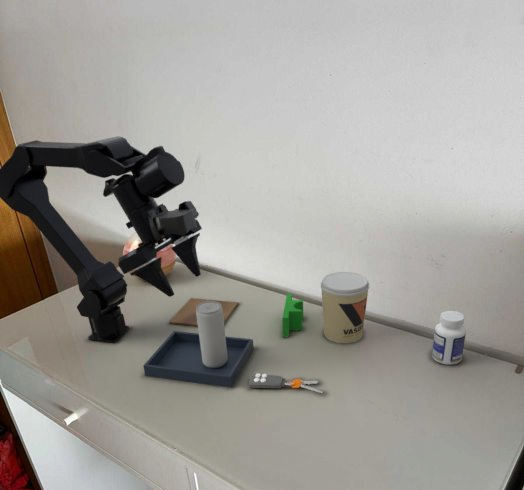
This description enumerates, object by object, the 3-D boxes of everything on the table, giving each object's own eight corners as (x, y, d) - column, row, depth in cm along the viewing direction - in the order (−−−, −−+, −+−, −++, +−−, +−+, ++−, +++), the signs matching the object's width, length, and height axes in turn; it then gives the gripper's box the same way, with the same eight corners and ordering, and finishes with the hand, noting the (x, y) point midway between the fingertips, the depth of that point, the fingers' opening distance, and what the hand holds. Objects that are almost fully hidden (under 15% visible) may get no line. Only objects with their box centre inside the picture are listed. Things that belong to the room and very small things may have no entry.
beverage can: (197, 363, 95) (189, 307, 89) (217, 353, 98) (210, 298, 92) (213, 372, 92) (206, 315, 86) (233, 361, 95) (227, 305, 89)
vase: (165, 263, 142) (155, 201, 133) (187, 278, 132) (178, 212, 123) (119, 276, 135) (106, 212, 126) (139, 292, 125) (125, 224, 116)
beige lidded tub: (344, 351, 97) (346, 295, 91) (310, 333, 103) (310, 280, 97) (375, 334, 102) (379, 280, 96) (341, 318, 108) (343, 267, 102)
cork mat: (169, 323, 110) (169, 321, 110) (191, 300, 120) (191, 298, 120) (220, 328, 107) (219, 326, 107) (238, 304, 117) (238, 302, 116)
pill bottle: (460, 351, 94) (467, 310, 90) (462, 366, 90) (469, 324, 85) (431, 349, 96) (436, 307, 91) (431, 363, 91) (437, 321, 87)
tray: (145, 375, 93) (143, 365, 92) (175, 340, 104) (173, 330, 103) (231, 387, 88) (230, 377, 87) (253, 349, 99) (253, 339, 98)
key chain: (248, 390, 87) (247, 383, 87) (252, 377, 90) (251, 371, 90) (322, 394, 85) (322, 387, 84) (324, 381, 88) (324, 375, 87)
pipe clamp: (301, 337, 102) (301, 318, 100) (283, 337, 103) (282, 318, 100) (304, 311, 112) (303, 293, 109) (287, 311, 112) (286, 293, 110)
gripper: (138, 205, 76) (189, 293, 80) (200, 176, 90) (241, 252, 94) (95, 231, 82) (144, 312, 86) (159, 201, 96) (199, 271, 101)
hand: (185, 285), depth 92 cm, fingers open, 9 cm apart
